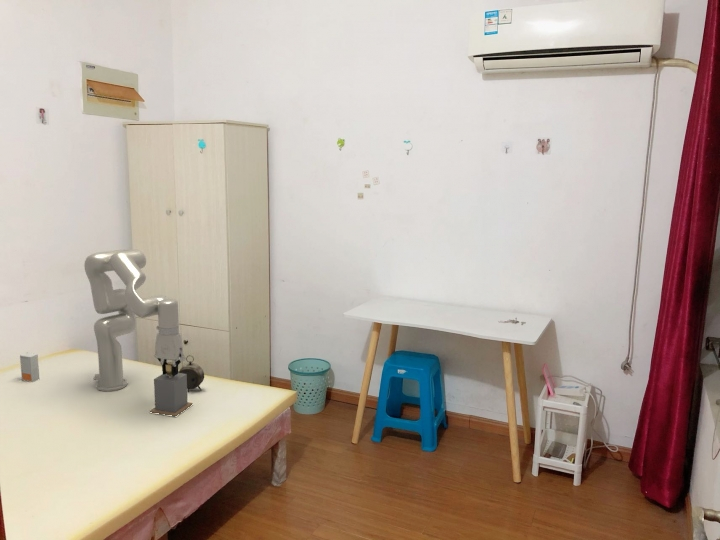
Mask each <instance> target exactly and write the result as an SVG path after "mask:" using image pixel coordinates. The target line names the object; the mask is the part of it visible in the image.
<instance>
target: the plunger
mask: <svg viewBox="0 0 720 540" xmlns="http://www.w3.org/2000/svg"><path fill="white" fill-rule="evenodd" d="M172 366H173V362H172V361H169V362H168V361H167V363H166V364H165V370H166V375H169V378H172Z"/></svg>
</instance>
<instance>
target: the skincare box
mask: <svg viewBox="0 0 720 540" xmlns="http://www.w3.org/2000/svg"><path fill="white" fill-rule="evenodd" d="M19 360H20V361H19V362H20V372H21V380H22V381H24V380H26V381H25V382H29V381H31V382H30V383H33V381H34V382H36V381H38V379H39V380H40V368H39V354H38V353H33V352H25V353H23V354H20V355H19Z"/></svg>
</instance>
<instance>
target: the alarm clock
mask: <svg viewBox="0 0 720 540" xmlns="http://www.w3.org/2000/svg"><path fill="white" fill-rule="evenodd" d="M189 357H192V360H191V361H188V358H189ZM185 358H186V359H185V361H187V363H184V364H183V366H181V368H179V369H178V373H183V374H187V393H190V391H191V390H194V389H197V388H198V389H199V390H200V391H202V388H201V386H200V385H201V384H203V382H204V381H205V372H204V369H203V368H202V367H201V366H200V365H199V364H197V363H194V360H195V358H194V356H193V355H192V354H189V355H187V356H185Z"/></svg>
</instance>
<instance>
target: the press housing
mask: <svg viewBox="0 0 720 540" xmlns="http://www.w3.org/2000/svg"><path fill="white" fill-rule="evenodd" d="M153 385H154V386H153V389H154V391H153V393H154V407H153V408H151V409H150V410H149V413H150V412H152V413H159V414H165V415H172V416H177V415H178V414H180V413H181V412H183V411H184V410H186V409H187V408H188V407H190V406H191V405H192V404H193V405H194V403H193V402H188V389H187V374H183V373H178V374H177V375H175V376H172V378H169V375H166V374H165V375H163V373H162V374H160V375H158V376H156V377H155V378H153ZM193 405H192V406H193ZM192 406H191V407H192ZM191 407H190V408H191ZM188 409H189V408H188ZM188 409H187V410H188ZM187 410H186V411H187ZM184 412H185V411H184ZM184 412H183V413H184ZM152 413H151V414H152ZM180 415H181V414H180Z"/></svg>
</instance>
